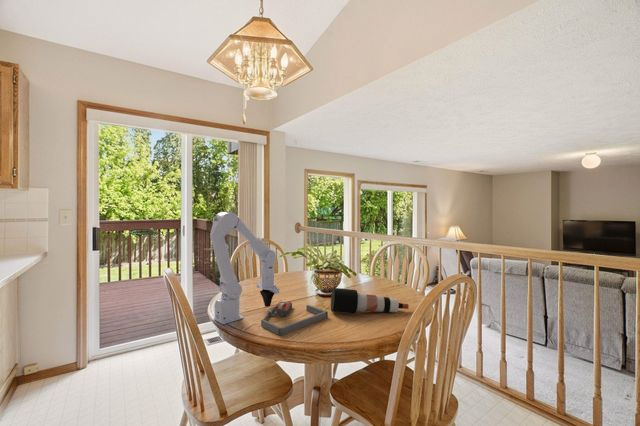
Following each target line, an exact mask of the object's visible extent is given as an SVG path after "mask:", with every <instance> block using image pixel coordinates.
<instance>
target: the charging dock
mask: <svg viewBox="0 0 640 426" xmlns="http://www.w3.org/2000/svg"><path fill="white" fill-rule="evenodd" d="M305 307H306V310H305V311H306V312H308V313H310V314H313V315H311V316H309V317H305V318H303V319H300V320H297V321H295V322H292V323H290V324H286V325H283V326H278V325H277V324H274V323H272V322H270V321H268V320H267V319H266V320H264V318H263V319H261V320H260V321H261V323H260V327H262V328H264V329H266V330H267V331H270V332H272V333H273V334H275V335H277V336H279V337H281V336H284V335H286V334H289V333H292V332H294V331H296V330H299V329H300V330H301V329H302V328H304V327H308V326H309V325H312V324H315V323H318V322H320V321H323V320H325V319H327V318H328V311H327V310H324V309H321V308H318V307H315V306H313V305H310V304H306V306H305Z"/></svg>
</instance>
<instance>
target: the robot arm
mask: <svg viewBox="0 0 640 426" xmlns="http://www.w3.org/2000/svg"><path fill="white" fill-rule="evenodd" d="M231 230H236V231H237V232H238V233H239V234H240V235H241V236H242V237H243V238H245V239H246V240H247V242H248V243H249V244H248V247H249V248H250V249H251V250H252V251H253V252H254V253H255V254H256V255H257V256H258V259H259V260H260V262H261V266H260V267H261V268H260V269H261V270H260V273H261V274H260V281H261V282H257V283H256V288H258V289H259V288H260V289H262V290H260V291H259V293H260V295H261V297H262V300H263V303H264V306H265V308H269V307H270V306H271V305H272V300H273V298H274V295H277V294H280V287H279V288H278V287H277V284H275V263H276V261H277V258H278V255H276V252H275V251H274V250H272V249H271V247H270V246H269V245H267V244H266V243H265V242H264V238H262V237H259V236H258V237H257V236H255V235H254V233H252V231H251V230H250V229H249V228H248V227H247V225H246V224H245V223H244V222H243V221H242V219H241V217H238V216H237V214H236V213H234V212H225V211H220V212H218V213H217V214H216V215H215V217H214V218H213V219H212V226H211V228H210V233H209V237H210V241H211V244H212V249H213V252H214V257H215V260H216V264H217V268H218V271H219V275H220V277H219V291H220V292H221V295H220V296H221V297H220V298H219V299H217V300H215V302H214V317H213V320H214V321H216V322H218V323H220V324H221V325H226V324H229V323H232V322H236V321H238V320H239V321H240V320H242V319H244V318H245V317H244V316H242V314H241V315H240V296H241V295H242V292H243V288H242V285H241V284H240V283H239V280H238V278H237V277H236V275H235V273H234V269H233V265H232V262H231V258H230V255H229V254H230V253H229V250H228V246H227V242H226V238H225V237H226V236H227V234H228V233H229V232H230V231H231Z"/></svg>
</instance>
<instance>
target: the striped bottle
mask: <svg viewBox="0 0 640 426" xmlns="http://www.w3.org/2000/svg"><path fill="white" fill-rule="evenodd" d="M409 306H410V305H409V304H408V303H403V302H399V300H398V298H396V297H395V298H394V297H387V296H381V295H375V294H365V293H361V292H360V293H359V292H358V290H357V289H350V288H339V287H332V291H331V296H330V311H331V312H332V313H341V314H356V313H357V312H373V313H376V312H378V313H383V312H384V313H395V312H396V313H398V311H399V309H403V310H404V309H405V310H408V309H409V308H410V307H409Z"/></svg>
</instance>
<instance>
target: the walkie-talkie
mask: <svg viewBox="0 0 640 426" xmlns="http://www.w3.org/2000/svg"><path fill="white" fill-rule="evenodd" d="M292 308H293V303H292V302H291V301H285V300H281V301H279V302H277V303H276V305H275V306H272V307H270V308H269V309H268V310H266V315H265V316H264V318H263V319H264V320H266V321H267V320H268V318H269V317H270V316H272V317H281V318H282V317H284V318H285V317H288V315H289V314H290V312H291V310H292Z"/></svg>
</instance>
